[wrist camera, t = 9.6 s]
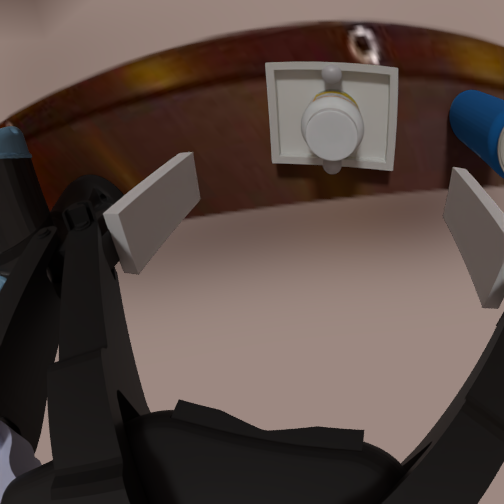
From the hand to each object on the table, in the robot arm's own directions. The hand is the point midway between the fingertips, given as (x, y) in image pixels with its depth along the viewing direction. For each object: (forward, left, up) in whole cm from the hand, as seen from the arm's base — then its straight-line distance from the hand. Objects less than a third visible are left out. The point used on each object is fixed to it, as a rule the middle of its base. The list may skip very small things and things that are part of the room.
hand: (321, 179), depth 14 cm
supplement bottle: (0, 0, -19) cm, 19 cm away
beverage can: (+16, +2, -20) cm, 26 cm away
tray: (0, 0, -20) cm, 20 cm away
